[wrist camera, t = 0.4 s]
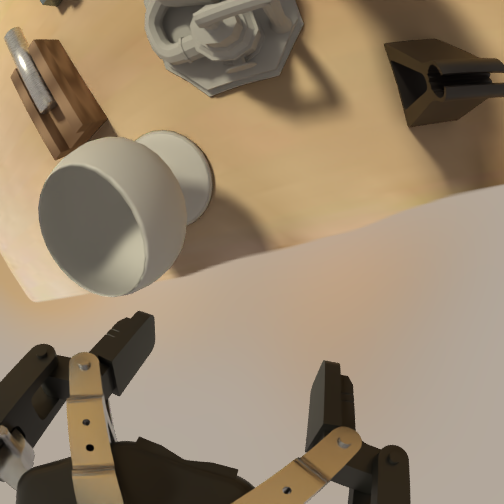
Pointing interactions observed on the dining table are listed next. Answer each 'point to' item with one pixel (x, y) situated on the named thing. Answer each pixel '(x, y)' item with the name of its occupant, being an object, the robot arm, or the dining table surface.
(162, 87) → the dining table surface
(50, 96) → the axle
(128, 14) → the dining table surface
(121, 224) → the chalice
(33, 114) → the grooved beam
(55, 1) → the V-block
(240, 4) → the grey faceted sculpture
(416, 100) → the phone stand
